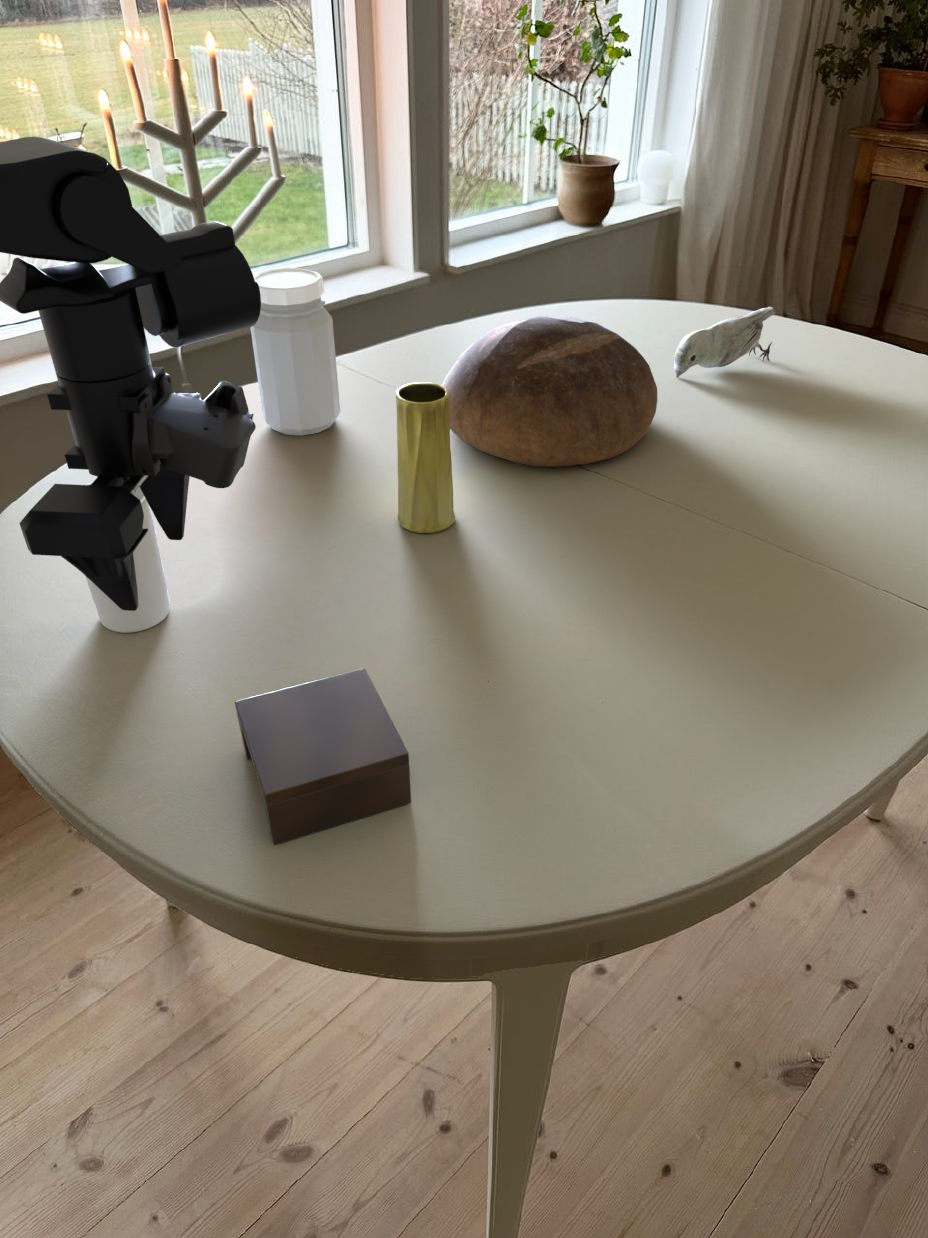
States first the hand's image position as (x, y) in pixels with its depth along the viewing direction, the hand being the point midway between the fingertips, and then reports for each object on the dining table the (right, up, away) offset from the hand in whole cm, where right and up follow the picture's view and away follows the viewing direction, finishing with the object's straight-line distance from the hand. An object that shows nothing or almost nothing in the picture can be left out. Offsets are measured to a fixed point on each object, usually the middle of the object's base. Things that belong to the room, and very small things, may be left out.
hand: (154, 572), depth 67 cm
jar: (+2, +22, +51) cm, 55 cm away
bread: (+33, +21, +50) cm, 63 cm away
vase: (+18, +7, +31) cm, 37 cm away
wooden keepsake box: (+12, -15, +1) cm, 19 cm away
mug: (-9, -2, +19) cm, 21 cm away
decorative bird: (+59, +33, +66) cm, 94 cm away
